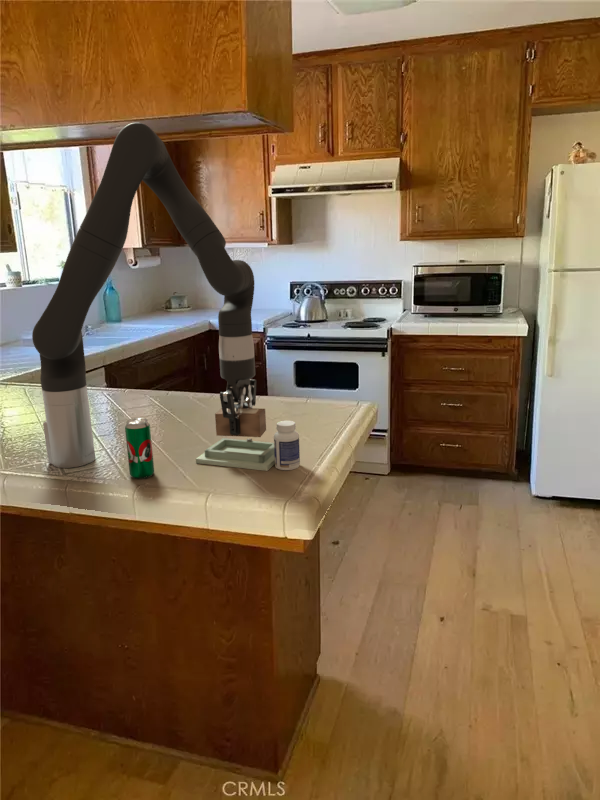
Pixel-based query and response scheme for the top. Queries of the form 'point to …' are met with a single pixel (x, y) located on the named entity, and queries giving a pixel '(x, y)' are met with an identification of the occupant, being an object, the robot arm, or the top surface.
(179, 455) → the top surface
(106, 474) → the top surface
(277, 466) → the pill bottle
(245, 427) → the brown block
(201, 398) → the top surface
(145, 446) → the soda can
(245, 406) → the robot arm
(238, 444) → the pale green tray
